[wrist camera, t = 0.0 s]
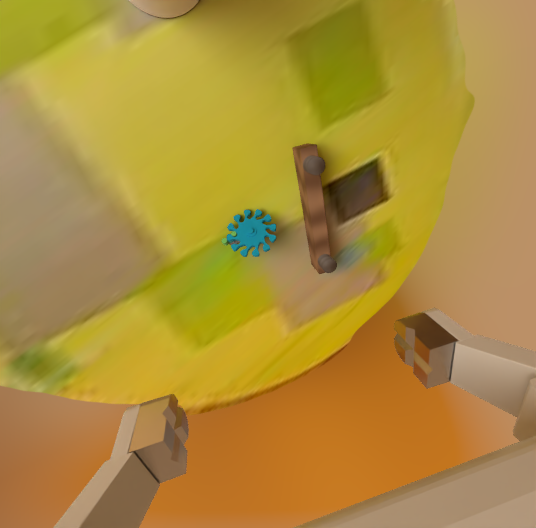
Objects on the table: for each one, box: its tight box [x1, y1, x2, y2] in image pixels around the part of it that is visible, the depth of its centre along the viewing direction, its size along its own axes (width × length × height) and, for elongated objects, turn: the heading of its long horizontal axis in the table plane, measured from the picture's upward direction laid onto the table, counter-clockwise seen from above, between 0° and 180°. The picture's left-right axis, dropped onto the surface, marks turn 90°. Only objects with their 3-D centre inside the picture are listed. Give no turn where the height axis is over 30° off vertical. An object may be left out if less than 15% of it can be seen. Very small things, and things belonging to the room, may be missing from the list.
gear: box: [222, 209, 276, 257], centre depth 56 cm, size 11×6×10 cm
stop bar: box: [293, 144, 337, 274], centre depth 55 cm, size 26×3×8 cm, turn 13°
